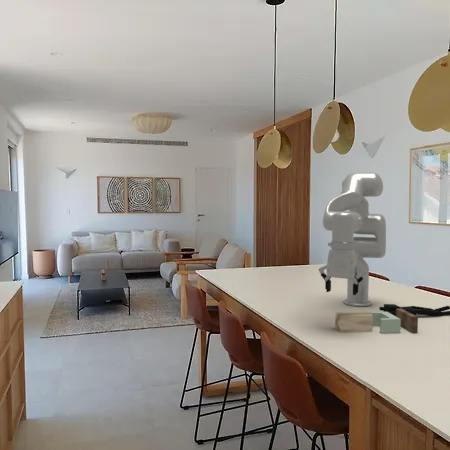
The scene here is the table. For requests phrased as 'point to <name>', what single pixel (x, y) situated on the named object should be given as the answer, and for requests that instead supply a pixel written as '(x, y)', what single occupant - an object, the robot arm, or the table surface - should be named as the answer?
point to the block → (386, 322)
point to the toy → (416, 310)
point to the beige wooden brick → (353, 321)
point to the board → (407, 320)
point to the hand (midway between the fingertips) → (341, 293)
